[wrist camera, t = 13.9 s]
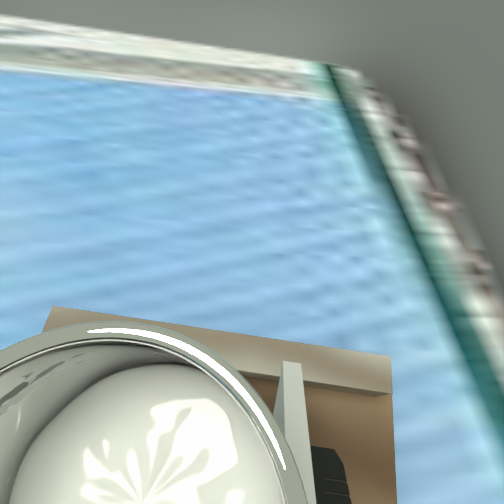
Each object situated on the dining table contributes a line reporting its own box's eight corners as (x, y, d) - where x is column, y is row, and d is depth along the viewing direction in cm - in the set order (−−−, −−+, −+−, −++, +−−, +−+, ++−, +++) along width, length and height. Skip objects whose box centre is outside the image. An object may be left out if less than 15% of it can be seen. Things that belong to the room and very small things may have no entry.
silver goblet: (143, 384, 19) (-73, 294, 6) (265, 392, 19) (325, 321, 6) (113, 540, 16) (-512, 1121, 3) (258, 549, 16) (360, 1172, 3)
